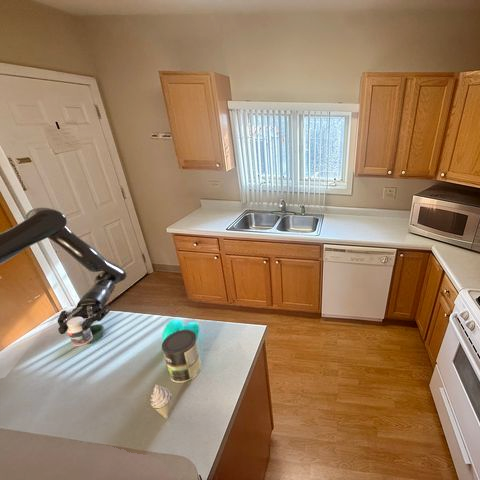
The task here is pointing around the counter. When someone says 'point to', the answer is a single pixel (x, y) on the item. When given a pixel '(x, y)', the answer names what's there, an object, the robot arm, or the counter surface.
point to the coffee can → (182, 355)
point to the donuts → (179, 328)
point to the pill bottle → (78, 332)
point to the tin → (96, 332)
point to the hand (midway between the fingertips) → (72, 330)
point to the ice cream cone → (161, 400)
